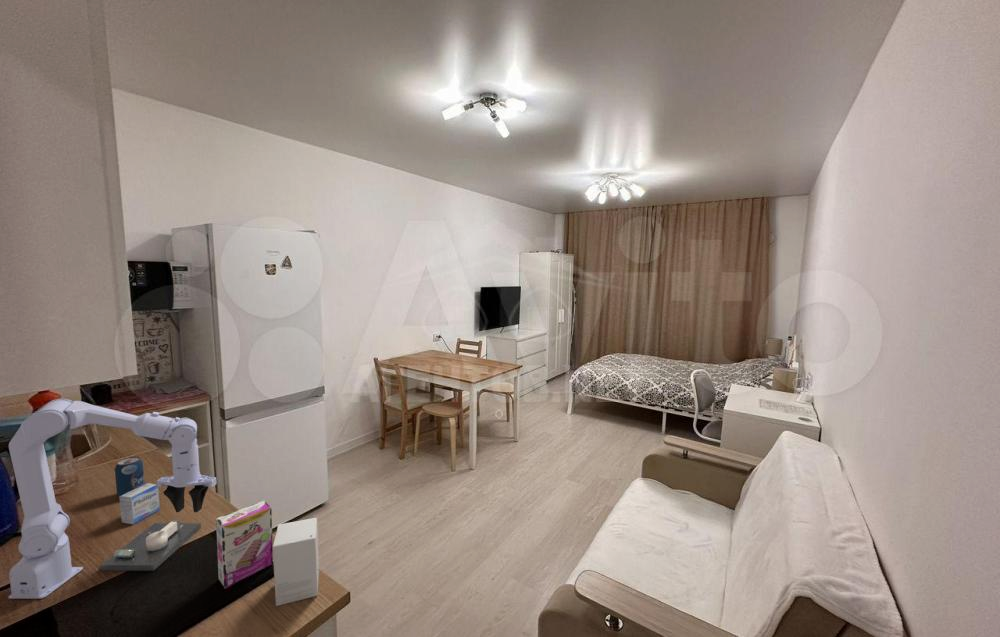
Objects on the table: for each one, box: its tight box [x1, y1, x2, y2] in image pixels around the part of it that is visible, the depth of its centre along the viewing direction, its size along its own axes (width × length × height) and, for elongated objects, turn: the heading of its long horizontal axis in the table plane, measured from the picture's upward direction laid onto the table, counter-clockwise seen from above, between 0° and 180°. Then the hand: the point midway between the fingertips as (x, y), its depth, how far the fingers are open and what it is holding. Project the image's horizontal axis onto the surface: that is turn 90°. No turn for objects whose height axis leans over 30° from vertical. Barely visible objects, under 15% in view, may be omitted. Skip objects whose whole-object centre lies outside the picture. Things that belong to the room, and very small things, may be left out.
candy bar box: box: [215, 500, 274, 590], centre depth 102 cm, size 11×5×16 cm, turn 141°
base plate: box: [99, 522, 202, 572], centre depth 111 cm, size 17×13×3 cm
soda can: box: [114, 456, 146, 498], centre depth 135 cm, size 7×7×12 cm
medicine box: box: [118, 482, 160, 525], centre depth 124 cm, size 8×4×9 cm, turn 168°
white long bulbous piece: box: [146, 519, 180, 551], centre depth 112 cm, size 9×4×3 cm, turn 2°
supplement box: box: [272, 517, 320, 607], centre depth 98 cm, size 9×9×15 cm
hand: (189, 510), depth 113 cm, fingers open, 4 cm apart
